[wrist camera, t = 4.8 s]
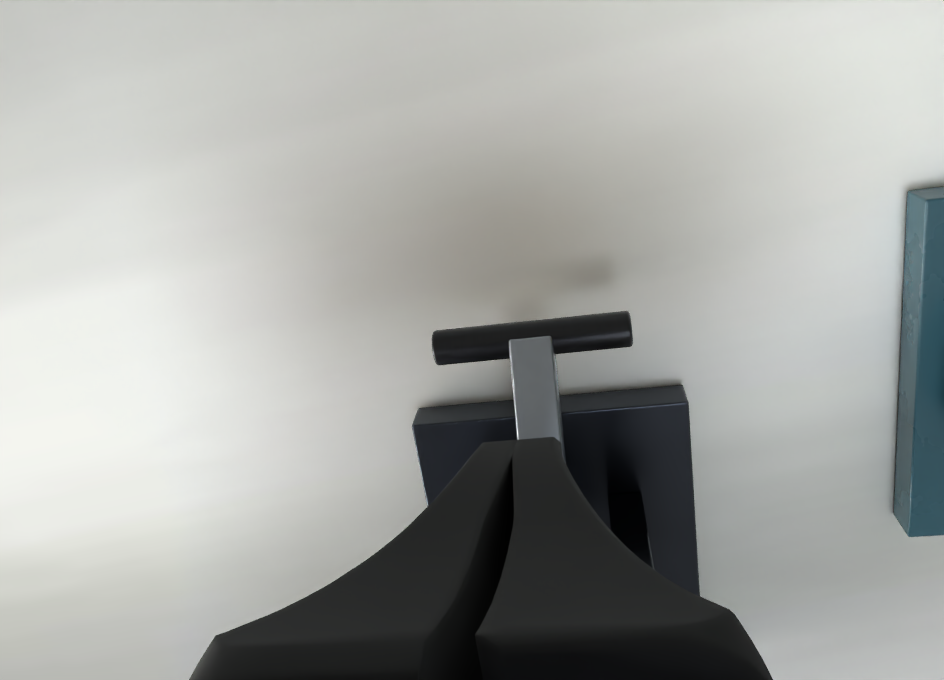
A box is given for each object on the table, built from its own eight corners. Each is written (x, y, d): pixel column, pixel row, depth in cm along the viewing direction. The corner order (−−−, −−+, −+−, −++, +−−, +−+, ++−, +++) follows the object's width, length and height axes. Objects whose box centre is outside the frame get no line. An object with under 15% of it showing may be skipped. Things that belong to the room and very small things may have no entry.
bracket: (417, 407, 25) (349, 594, 17) (683, 384, 24) (744, 573, 16) (466, 661, 29) (428, 917, 21) (699, 652, 28) (756, 919, 19)
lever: (442, 334, 22) (423, 326, 20) (627, 315, 22) (630, 305, 19) (476, 746, 21) (461, 789, 19) (671, 741, 21) (681, 785, 18)
